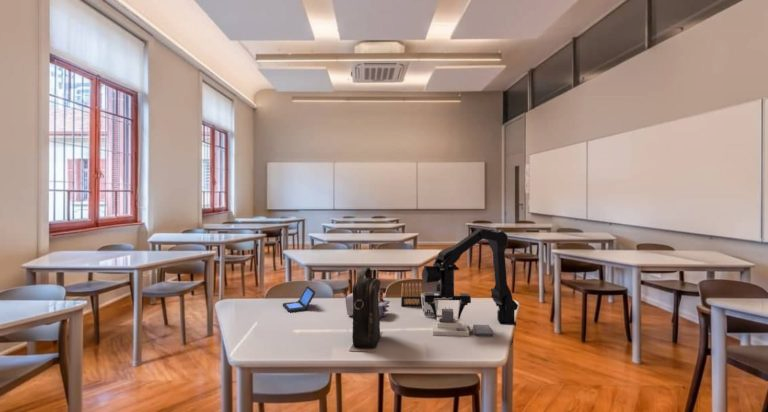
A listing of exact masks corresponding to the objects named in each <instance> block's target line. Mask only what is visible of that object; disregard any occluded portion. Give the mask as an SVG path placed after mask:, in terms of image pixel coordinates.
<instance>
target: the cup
mask: <svg viewBox="0 0 768 412" xmlns="http://www.w3.org/2000/svg"><path fill="white" fill-rule="evenodd" d="M425 293H426V292H422V294H421V301H422V307H421V308H422V313H423V315H424V317H425V318H435V315H434V312H433V309H432V307H431V305H429V304H428V302H425ZM433 293H434V295H440V293H438V292H433ZM435 307H436V314H437V313H438V308H439V300H435Z"/></svg>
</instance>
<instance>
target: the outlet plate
mask: <svg viewBox="0 0 768 412" xmlns="http://www.w3.org/2000/svg"><path fill="white" fill-rule="evenodd" d="M468 327H469V326H468V325H467V322H466V321H459V319H458V317H453V323H442V316H439V317H438V316H437V319H436V320H432V336H453V337H458V336H460V337H469V336H470V334H469V332H470V331H469V328H468Z"/></svg>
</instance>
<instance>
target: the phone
mask: <svg viewBox="0 0 768 412" xmlns="http://www.w3.org/2000/svg"><path fill="white" fill-rule="evenodd" d="M472 329H473V331H476V334H475V335H476V337H489V338H490V337H491V338H492V337H494V333H493V330H492V329H491V327H490V325H489V324H472Z"/></svg>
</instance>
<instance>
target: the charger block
mask: <svg viewBox="0 0 768 412" xmlns="http://www.w3.org/2000/svg"><path fill="white" fill-rule="evenodd" d="M441 317H442V323H453V318H454V309H453V308H451V307H450V306H449V307H448V308H447V307H444V308H441Z"/></svg>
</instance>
